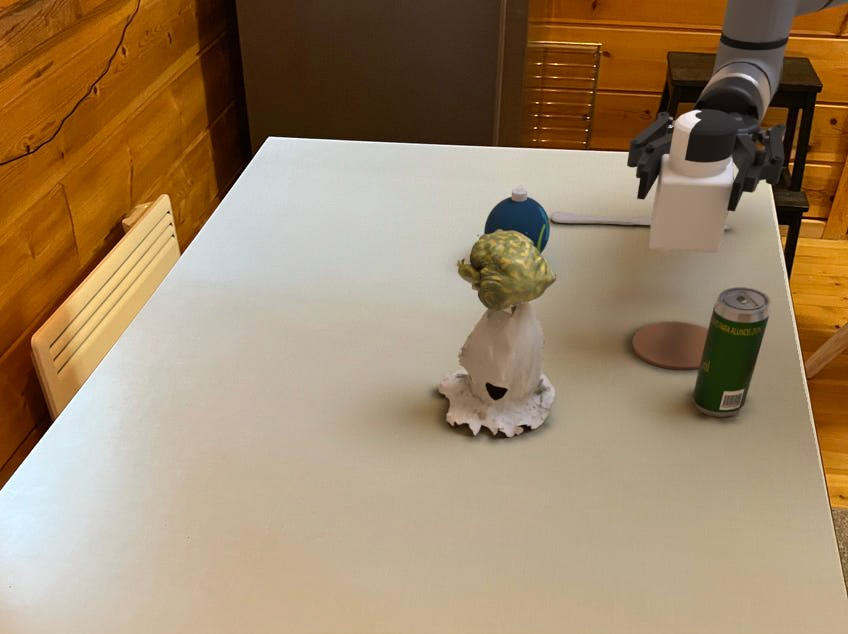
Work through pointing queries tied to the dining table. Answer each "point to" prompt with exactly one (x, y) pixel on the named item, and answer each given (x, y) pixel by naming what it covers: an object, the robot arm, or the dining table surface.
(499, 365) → the white and green statuette
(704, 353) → the green drink can
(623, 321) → the dining table surface
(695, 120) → the medicine bottle
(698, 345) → the coaster
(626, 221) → the butter knife
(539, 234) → the christmas ornament
